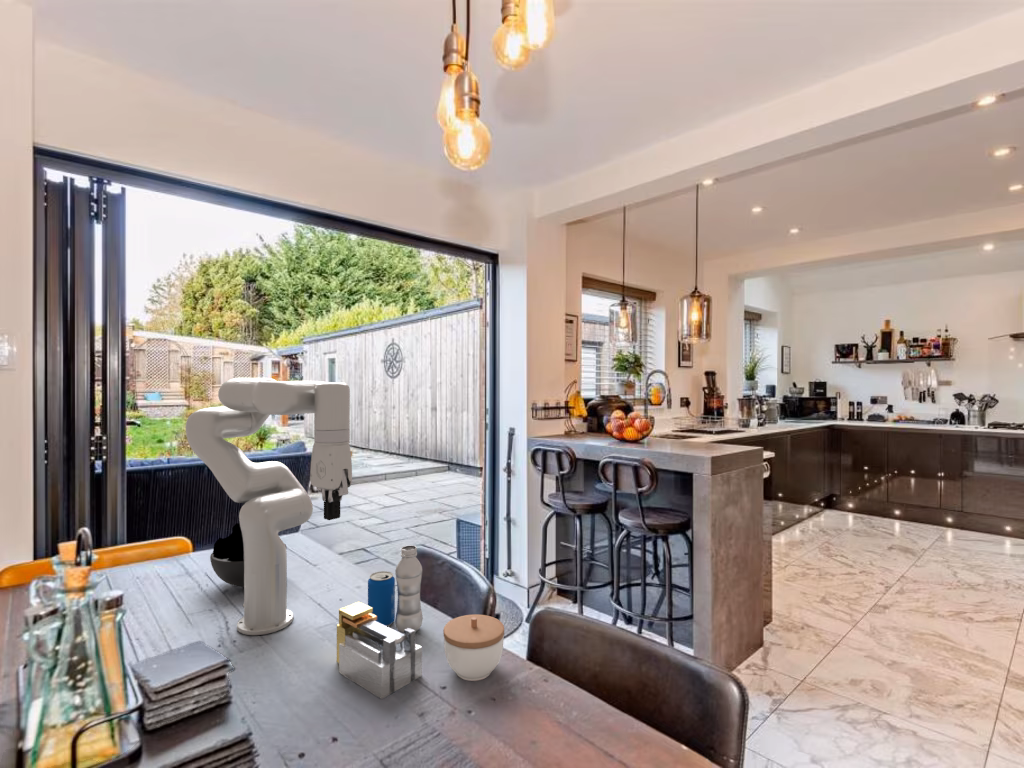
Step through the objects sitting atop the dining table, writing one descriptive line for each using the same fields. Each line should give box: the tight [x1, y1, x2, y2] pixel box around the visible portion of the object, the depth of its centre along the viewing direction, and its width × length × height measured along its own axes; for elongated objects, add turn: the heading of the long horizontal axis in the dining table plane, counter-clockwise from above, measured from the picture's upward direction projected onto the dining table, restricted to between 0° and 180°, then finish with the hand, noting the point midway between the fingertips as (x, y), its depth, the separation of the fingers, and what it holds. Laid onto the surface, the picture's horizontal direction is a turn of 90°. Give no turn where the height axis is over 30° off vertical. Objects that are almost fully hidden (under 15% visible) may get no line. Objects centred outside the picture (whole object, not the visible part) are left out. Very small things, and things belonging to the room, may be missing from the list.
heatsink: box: [338, 628, 423, 700], centre depth 108 cm, size 14×10×10 cm
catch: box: [336, 601, 373, 664], centre depth 113 cm, size 5×6×11 cm
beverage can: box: [367, 570, 396, 627], centre depth 130 cm, size 6×6×12 cm
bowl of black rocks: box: [209, 522, 287, 588], centre depth 154 cm, size 20×20×19 cm
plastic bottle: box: [394, 544, 424, 634], centre depth 126 cm, size 6×7×20 cm
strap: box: [343, 613, 408, 645], centre depth 108 cm, size 16×5×1 cm, turn 51°
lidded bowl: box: [442, 613, 505, 682], centre depth 109 cm, size 13×13×11 cm
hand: (332, 518), depth 118 cm, fingers closed
